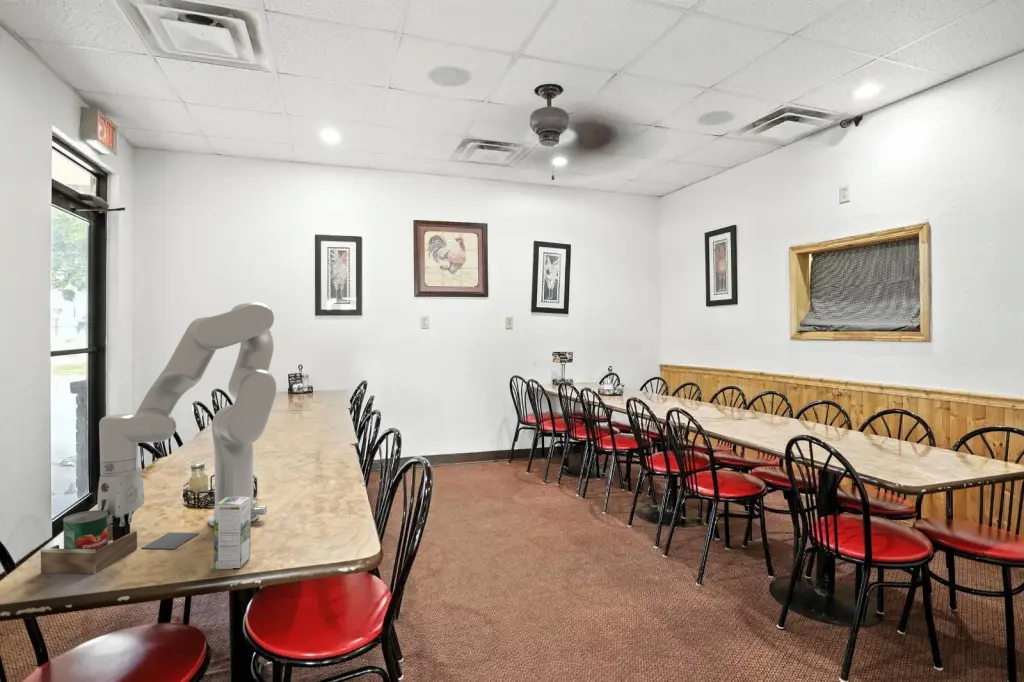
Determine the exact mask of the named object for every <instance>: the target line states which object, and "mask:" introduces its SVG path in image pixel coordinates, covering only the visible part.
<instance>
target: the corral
mask: <svg viewBox="0 0 1024 682" xmlns="http://www.w3.org/2000/svg"><path fill="white" fill-rule="evenodd" d="M117 518H118V517H117ZM112 538H113V533H112V526H110V523H109V524H108V540H109V541H111V540H113V539H112ZM110 539H111V540H110ZM136 549H137V550H138V531H137V530H133V531H132V532H131V531H130V533H129V534H127V535H125V536H123V537H121V538H119V539H117V540H116V541H114V542H113V541H112V542H110V543H108V545H106V546H104V547H102V548H100V549H98V550H96V549H64V548H60V544H55V545H53V546H51V547H49V548H47V547H46V548H44V547H43V548H41V549H40V573H41V574H73V573H94V574H96V573H98V572H100V571H102V570H103V569H105V568H107V567H108V565H109V564H111V563H112V564H114V563H115V561H116V562H118V561H119V560H122V559H123V558H125V557H127V556H128V555H130V554H132V553H134V552H135V551H134V550H136ZM137 550H136V551H137ZM133 551H134V552H133ZM131 552H132V553H131ZM129 553H130V554H129ZM127 554H128V555H127ZM126 555H127V556H126ZM124 556H125V557H124ZM122 557H123V558H122ZM117 560H118V561H117ZM113 562H114V563H113ZM112 564H111V565H112ZM106 566H107V567H106ZM109 566H110V565H109ZM104 567H105V568H104ZM102 568H103V569H102ZM101 569H102V570H101ZM99 570H100V571H99ZM97 571H98V572H97ZM95 572H96V573H95Z"/></svg>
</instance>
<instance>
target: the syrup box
mask: <svg viewBox="0 0 1024 682" xmlns="http://www.w3.org/2000/svg"><path fill="white" fill-rule="evenodd" d="M213 515H214V526H213V527H214V528H213V569H214V570H234V569H233V568H240V569H241V568H242V567H243V566H244V565H245V564H246V563H247V562H248V561H249V560H250V559H251V528H252V527H251V524H252V522H251V498H250V497H241V496H234V497H226V498H224V499H223V500H222V501H220V502H219V503H217V504H216V505H215V504H214V512H213ZM249 558H250V559H249ZM248 559H249V560H248ZM247 560H248V561H247Z"/></svg>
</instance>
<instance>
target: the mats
mask: <svg viewBox="0 0 1024 682" xmlns="http://www.w3.org/2000/svg"><path fill="white" fill-rule="evenodd" d="M197 534H198V535H200V532H166V534H164V535H161V536H160V537H159V538H156V539H155V540H153V541H151V542H149V543H147V544H146V545H144V546H143V547H141V548H142V549H141V550H175V549H177V548H179V547H180V546H182V545H183V544H185V543H187V542H188V541H190V540H191V538H192V537H193V538H195V537H196V536H198V535H197ZM194 536H195V537H194ZM193 538H192V539H193ZM189 539H190V540H189ZM187 540H188V541H187ZM186 541H187V542H186ZM184 542H185V543H184ZM182 543H183V544H182ZM181 544H182V545H181ZM179 545H180V546H179ZM178 546H179V547H178ZM176 547H177V548H176Z"/></svg>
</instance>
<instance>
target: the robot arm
mask: <svg viewBox="0 0 1024 682" xmlns="http://www.w3.org/2000/svg"><path fill="white" fill-rule="evenodd" d="M274 321H275V315H274V312H273V310H272V309H271V307H269V306H268V305H267V304H265V303H261V302H247V303H246V302H244V303H241V304H240V303H239V304H237V305H235V306H233V308H232V309H231V310H230V311H227V312H224V313H220V314H217V315H213V316H201V317H197V318H195V319H194V320H192V321H191V322H190V323H189V325H188V326H187V327H186V330H185V332H184V333H183V335H182V337H181V338H180V341H179V342H178V344H177V346H176V348H175V350H174V351H173V353H172V355H171V357H170V358H169V360H168V362H167V364H166V365H165V367H164V369H163V370H162V371H161V373H160V374H159V375H158V377H157V379H156V380H155V381H154V383H153V384H152V385H151V387H150V388H149V390H147V392H146V395H145V396H144V398H143V400H142V402H140V405H139V406H138V409H137V411H136V412H135V415H134V414H130V413H120V414H119V413H117V414H112V415H105V416H104V417H101V419H100V420H99V422H98V423H99V424H98V427H99V428H98V429H99V432H98V433H99V434H98V435H99V464H100V465H99V467H100V470H99V471H100V472H99V473H100V476H99V481H98V489H97V510H103V511H107V512H108V514H107V518H108V524H109V523H110V526H112V533H113V539H112V542H114V541H116V540H117V539H119V538H121V537H123V536H125V535H127V534H129V533H131V523H132V520H133V515H134V513H135V512H137V511H138V510H139V508H141V507H142V506H144V505H145V487H144V486H145V485H144V479H143V474H142V470H141V467H140V466H139V444H141V443H144V444H145V443H161V442H164V441H167V440H169V439H170V438H171V437H173V436H174V435H175V433H176V430H177V422H176V420H175V418H174V417H173V416H172V415H171V414H172V412H173V411H174V409H175V407H176V405H177V403H178V402H179V400H180V399H181V398H182V397H183V395H184V394H185V393H187V392H188V391H189V390H190V389H192V388H193V387H195V386H196V385H197V384H198V383H199V382H200V381H201V380H202V378H203V376H204V374H205V371H206V370H207V367H208V366H209V364H210V362H211V360H212V358H213V357H214V355H215V353H216V351H217V350H220V349H224V348H228V347H230V346H234V345H236V344H240V346H239V351H238V355H237V359H236V361H235V364H234V368H233V371H232V372H231V373H232V374H231V376H230V379H229V382H228V388H227V389H228V392H229V394H230V395H231V396H232V398H234V399H235V400H234V402H233V403H234V404H229V405H225V406H223V407H221V408H220V409H219V410H218V411H216V413H215V415H214V416H213V419H212V422H211V433H212V440H213V450H214V506H215V505H216V504H217V503H219V502H220V501H222V500H223V499H224V498H226V497H234V496H241V497H250V498H251V523H252V522H255V521H256V519H257V520H258V519H259V518H260V516H266V514H267V512H268V509H267V505H259V504H258V500H254V447H253V443H255V442H256V441H258V440H259V439H260V438H261V436H262V435H263V433H264V431H265V429H266V428H267V427H266V426H267V424H268V421H269V417H270V415H271V411H272V407H273V405H274V402H275V399H276V395H277V383H276V380H275V377H274V376H273V375H272V373H271V372H269V370H270V365H271V362H272V358H273V353H274V338H273V335H272V333H271V330H270V329H271V328H272V327H273V324H274ZM117 517H118V518H117ZM208 524H209V526H211V527H214V514H212V515H211V516H209V518H208Z"/></svg>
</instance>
